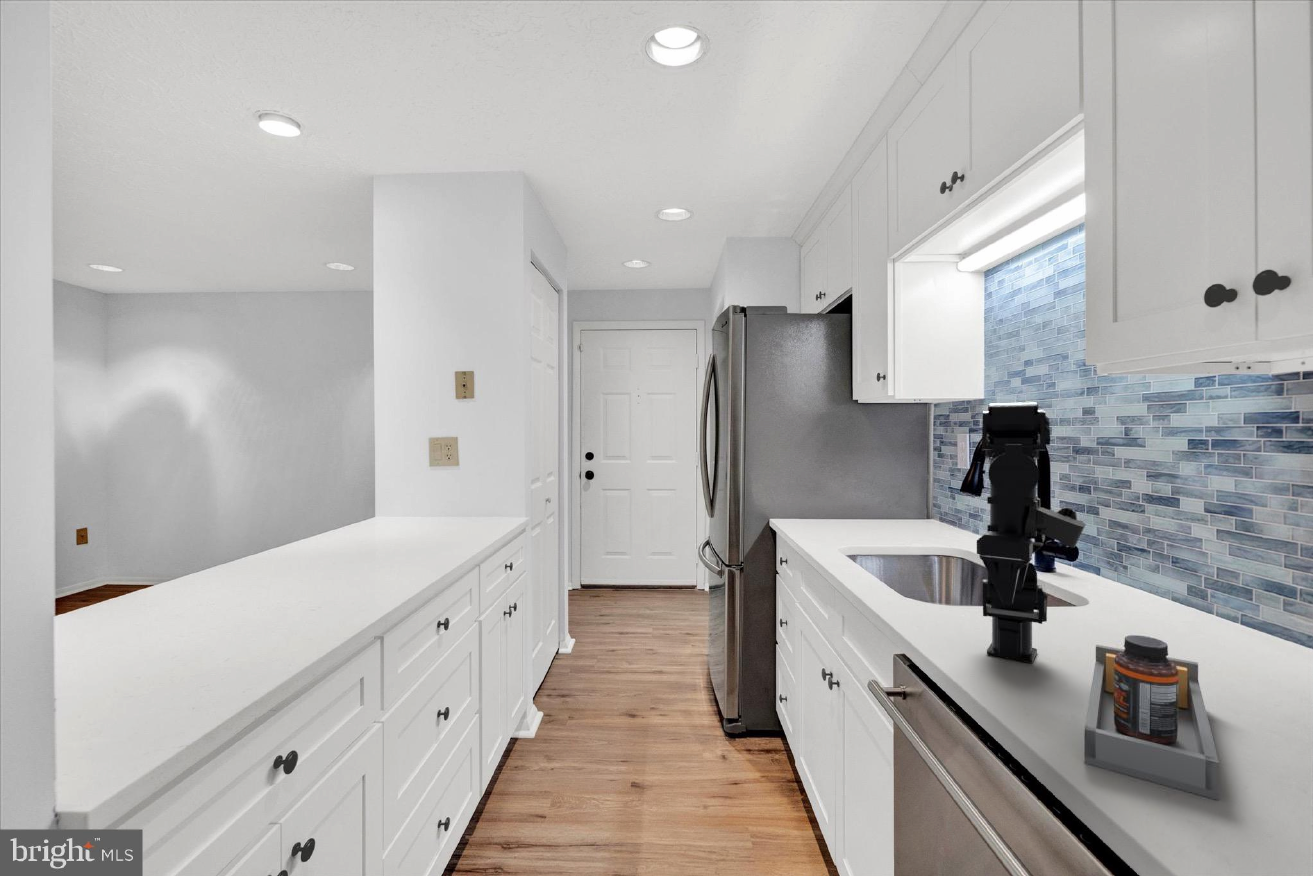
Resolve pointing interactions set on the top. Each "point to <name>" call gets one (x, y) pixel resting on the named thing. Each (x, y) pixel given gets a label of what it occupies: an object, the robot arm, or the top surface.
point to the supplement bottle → (1146, 691)
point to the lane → (1169, 764)
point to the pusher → (1181, 680)
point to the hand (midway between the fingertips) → (1012, 596)
